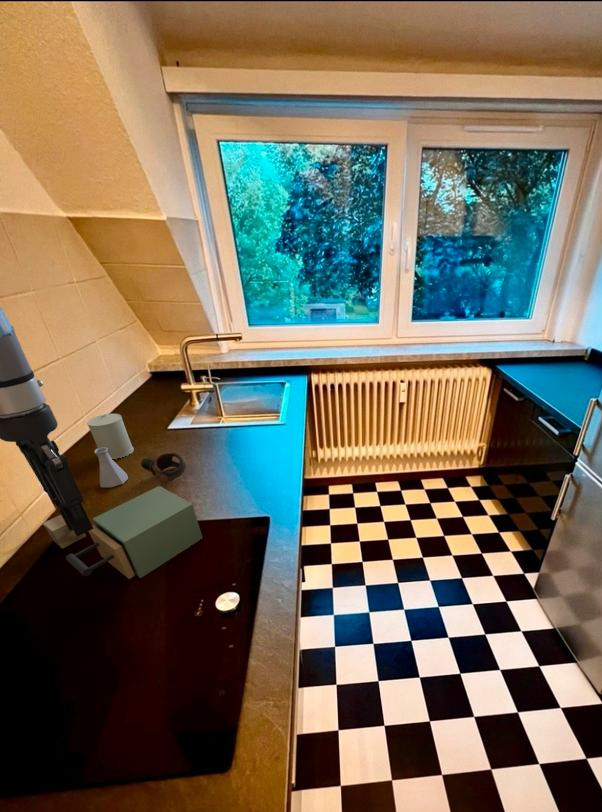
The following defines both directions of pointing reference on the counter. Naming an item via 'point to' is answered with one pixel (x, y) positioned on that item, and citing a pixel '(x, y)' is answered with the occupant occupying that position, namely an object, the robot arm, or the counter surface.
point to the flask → (109, 469)
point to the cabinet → (152, 528)
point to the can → (111, 434)
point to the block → (61, 532)
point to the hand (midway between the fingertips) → (81, 528)
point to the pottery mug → (164, 466)
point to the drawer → (104, 554)
